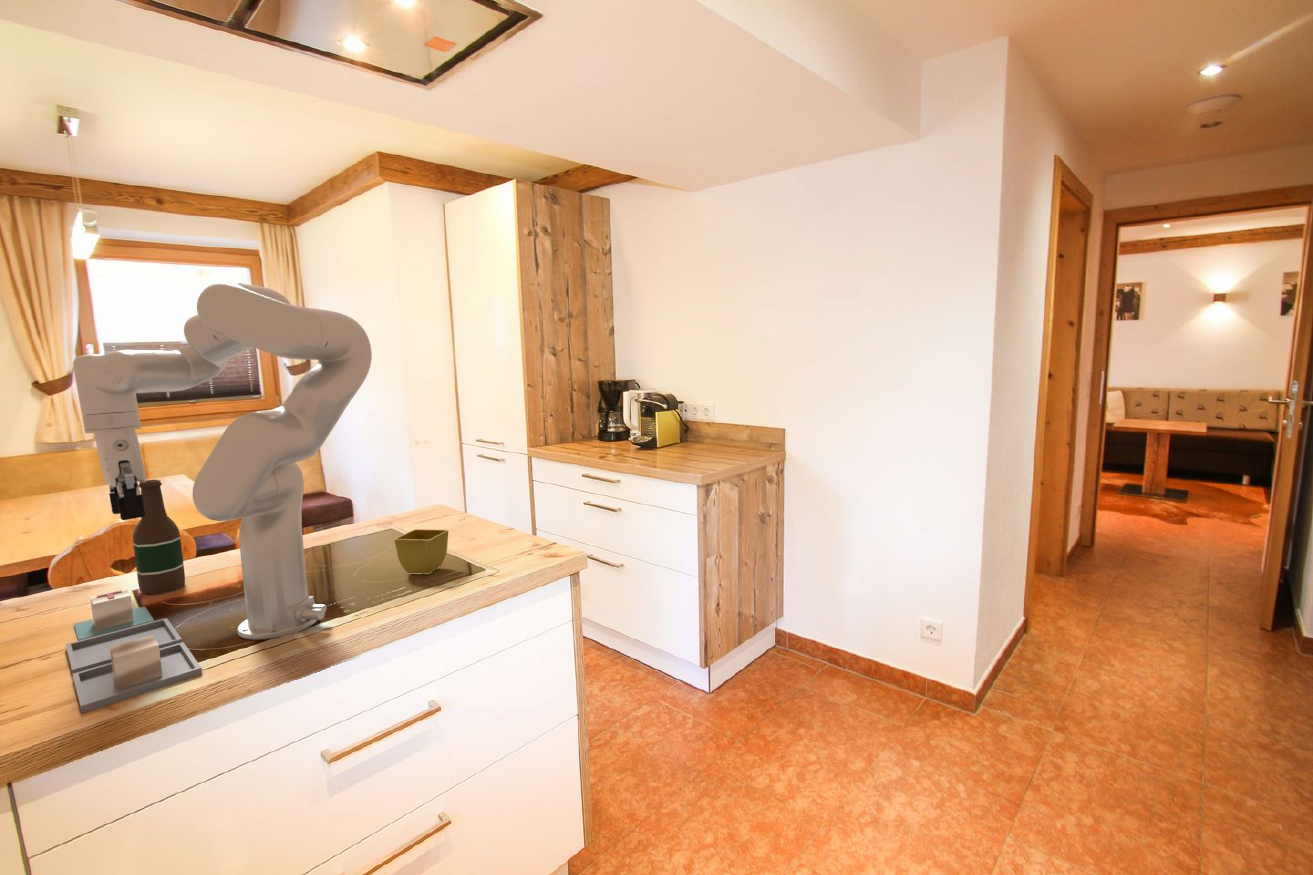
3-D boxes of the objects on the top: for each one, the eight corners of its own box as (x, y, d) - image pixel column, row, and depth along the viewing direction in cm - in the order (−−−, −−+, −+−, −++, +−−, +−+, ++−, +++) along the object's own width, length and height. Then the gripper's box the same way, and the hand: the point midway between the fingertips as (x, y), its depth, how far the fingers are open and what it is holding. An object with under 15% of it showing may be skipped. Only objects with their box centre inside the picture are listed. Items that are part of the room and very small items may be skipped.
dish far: (182, 646, 98) (181, 638, 98) (73, 678, 88) (72, 669, 88) (167, 625, 107) (166, 617, 107) (66, 651, 97) (65, 644, 97)
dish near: (202, 676, 88) (201, 667, 88) (82, 715, 79) (80, 706, 78) (184, 649, 97) (183, 641, 97) (73, 682, 87) (72, 673, 87)
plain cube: (162, 675, 88) (158, 644, 87) (118, 689, 84) (113, 657, 84) (156, 665, 91) (152, 635, 91) (113, 677, 88) (109, 646, 87)
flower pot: (417, 564, 138) (414, 528, 137) (451, 565, 137) (449, 529, 136) (396, 577, 130) (393, 539, 129) (432, 579, 129) (429, 540, 128)
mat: (154, 624, 107) (154, 620, 107) (79, 643, 100) (78, 639, 100) (145, 610, 114) (145, 606, 114) (74, 627, 106) (73, 623, 106)
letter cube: (133, 621, 107) (130, 594, 106) (96, 630, 103) (92, 602, 103) (129, 614, 110) (126, 587, 110) (93, 622, 107) (90, 595, 106)
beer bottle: (158, 596, 121) (144, 484, 118) (129, 594, 123) (115, 483, 120) (195, 583, 129) (182, 477, 126) (167, 581, 130) (154, 476, 127)
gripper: (149, 421, 101) (164, 515, 103) (132, 420, 112) (146, 506, 114) (90, 426, 96) (107, 526, 97) (78, 425, 107) (94, 514, 109)
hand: (128, 515), depth 106 cm, fingers open, 9 cm apart
